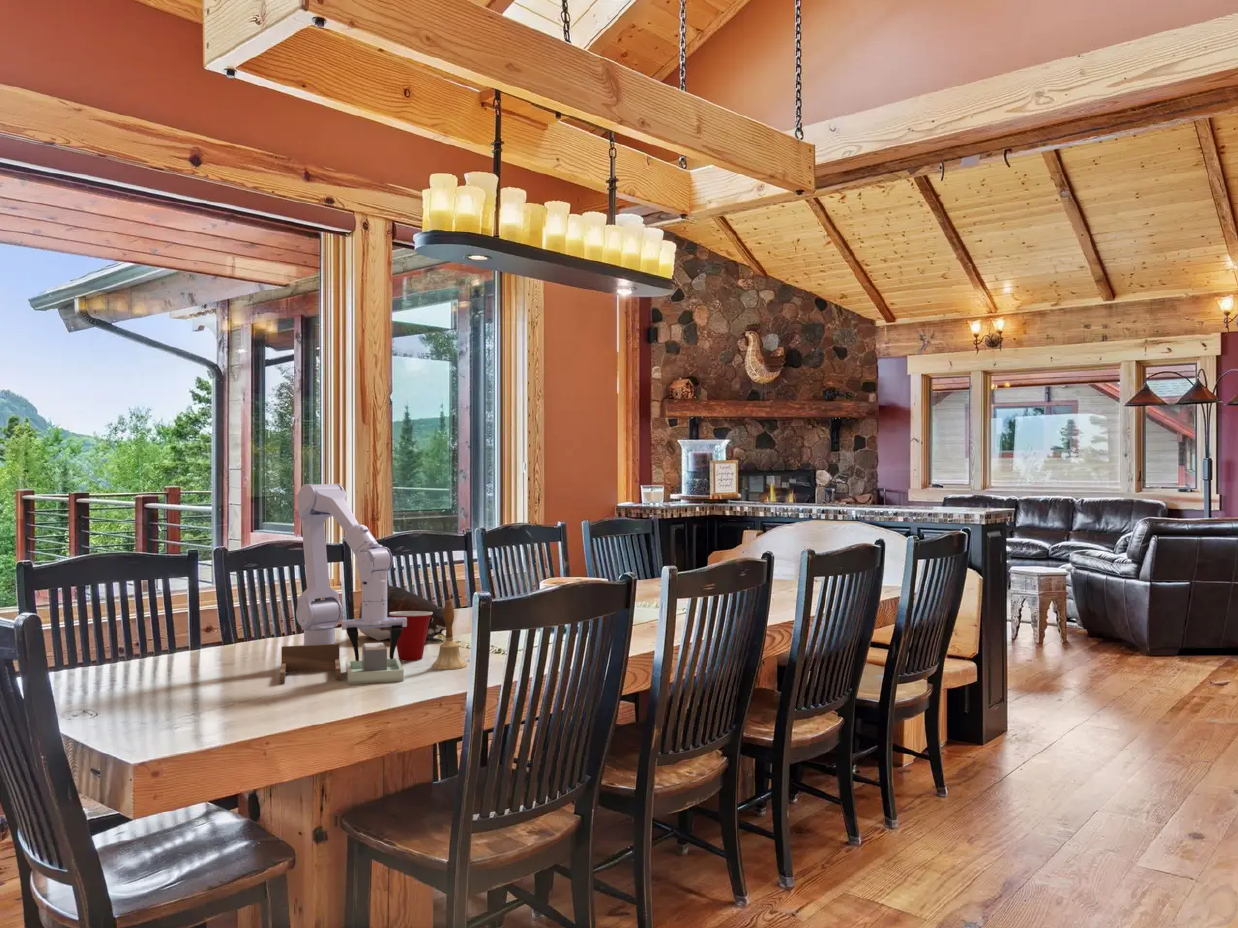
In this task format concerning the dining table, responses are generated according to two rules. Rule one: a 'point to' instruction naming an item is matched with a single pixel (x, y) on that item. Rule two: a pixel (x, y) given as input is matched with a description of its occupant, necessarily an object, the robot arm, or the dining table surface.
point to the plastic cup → (412, 634)
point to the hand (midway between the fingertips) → (374, 659)
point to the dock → (310, 659)
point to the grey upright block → (374, 657)
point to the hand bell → (449, 645)
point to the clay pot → (407, 602)
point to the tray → (374, 672)
